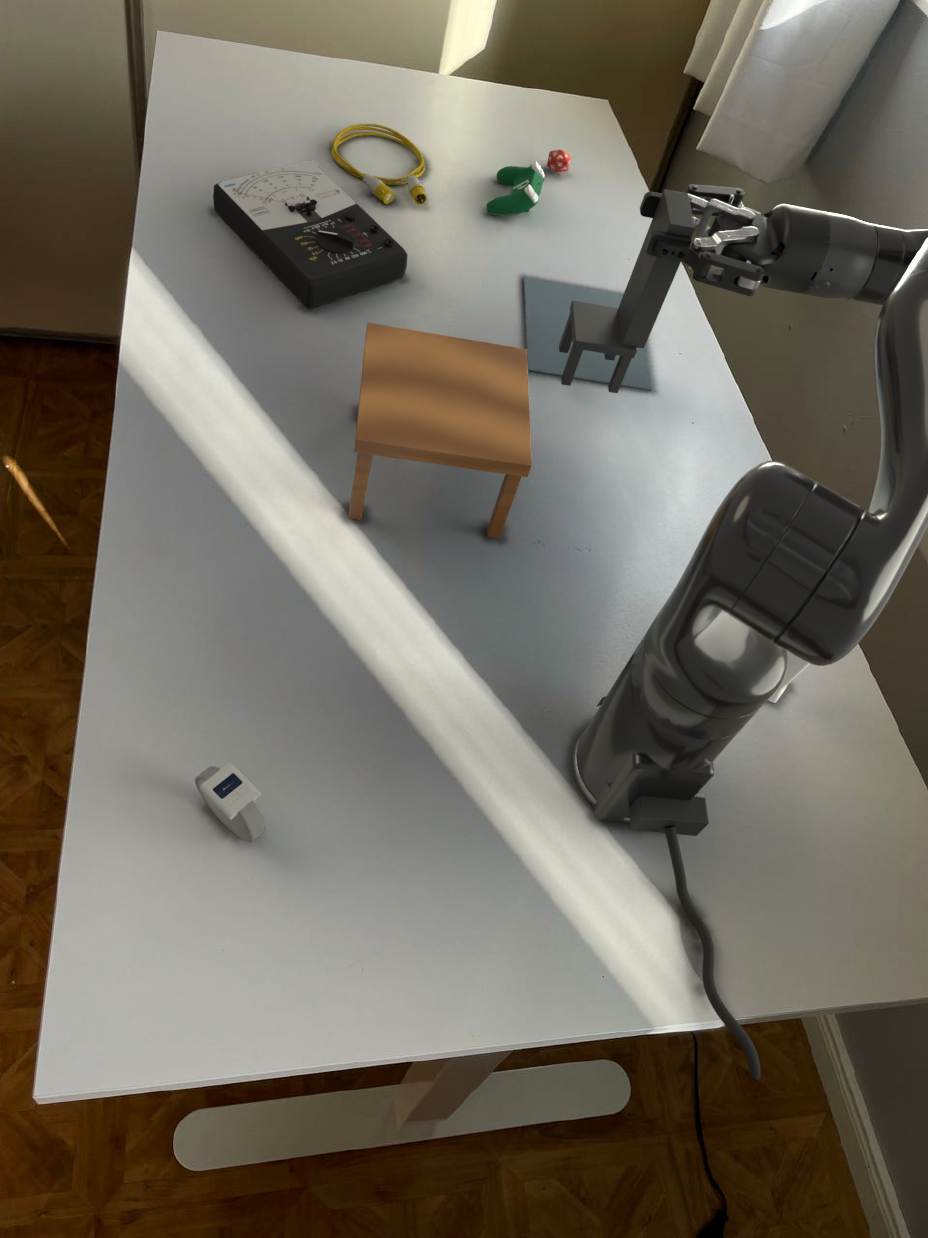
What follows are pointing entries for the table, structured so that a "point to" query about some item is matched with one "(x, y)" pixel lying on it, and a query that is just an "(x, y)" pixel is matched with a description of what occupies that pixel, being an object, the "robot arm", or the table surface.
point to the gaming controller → (518, 190)
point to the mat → (545, 331)
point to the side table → (443, 409)
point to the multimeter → (309, 232)
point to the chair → (628, 300)
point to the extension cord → (375, 183)
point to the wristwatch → (232, 800)
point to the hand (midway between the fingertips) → (646, 222)
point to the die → (558, 160)
